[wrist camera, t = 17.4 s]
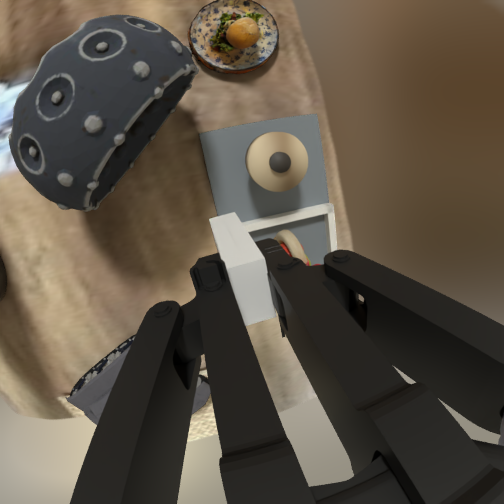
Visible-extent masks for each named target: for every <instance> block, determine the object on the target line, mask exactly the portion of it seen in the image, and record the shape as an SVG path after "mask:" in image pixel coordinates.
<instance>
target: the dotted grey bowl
mask: <svg viewBox="0 0 504 504" xmlns="http://www.w3.org/2000/svg"><path fill="white" fill-rule="evenodd" d="M198 72H199V68H198V67H197V66H196V65H195V64H194V62H193V60H192V52H191V50H190V48H188V47H187V46H183V44H182V43H181V42H180V41H179V40H178V39H177V38H176V37H175V36H174V35H172V34H171V33H170V32H169V31H167V30H166V29H164V28H163V27H161V26H160V25H158V24H156V23H153V22H151V21H148V20H146V19H143V18H139V17H134V16H129V15H110V16H104V17H99V18H95V19H91V20H89V21H87V22H84V23H82V24H81V26H80V28H79V29H78V30H77V31H76V32H75V33H73V34H72V35H71V36H69V37H68V38H66V39H65V40H63V41H62V42H60V43H58V44H56V45H55V46H53V47H52V48H51V49H50V50H49V51H48V52H47V53H46V54H45V55H44V56H43V57H42V59H41V62H40V65H39V67H38V69H37V71H36V73H35V75H34V77H33V78H32V80H31V82H30V83H29V84H28V86H27V87H26V88H25V89H24V90H23V91H22V92H21V93H19V95H18V98H17V100H16V103H15V106H14V114H13V125H12V131H11V134H10V135H9V145H10V149H11V153H12V156H13V158H14V161H15V163H16V166H17V167H18V169H19V171H20V172H21V174H22V175H23V176H24V177H25V179H26V180H27V181H28V182H29V183H30V184H31V185H32V186H33V187H34V188H35V189H36V190H37V191H38V192H39V193H40V194H41V195H43V196H44V197H46V198H47V199H49V200H50V201H52V202H54V203H56V204H57V205H58V207H59V208H61V209H62V210H68V209H76V210H83V211H85V212H86V211H90V210H96V209H98V208H99V204H100V202H101V201H102V200H103V199H104V198H105V197H106V196H107V195H108V194H109V193H112V192H113V191H114V189H115V186H116V184H117V183H118V182H119V181H120V179H121V178H122V177H123V176H124V174H125V173H126V172H127V171H128V169H130V168H133V166H134V162H135V161H136V159H137V158H138V156H139V155H140V154H141V152H142V151H143V150H144V149H145V147H146V146H147V145H148V143H149V142H150V141H152V140H153V139H154V138H155V136H156V133H157V131H158V130H159V129H160V127H161V126H162V125H163V123H164V122H165V121H166V119H167V118H168V117H169V115H170V114H171V113H173V112H174V111H175V110H176V105H177V104H178V102H179V101H180V100H181V98H182V97H183V95H184V94H185V92H186V91H187V90H189V89H190V88H191V87H192V85H191V83H192V81H193V79H194V76H195V75H196V74H198Z"/></svg>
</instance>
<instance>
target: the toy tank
mask: <svg viewBox="0 0 504 504" xmlns="http://www.w3.org/2000/svg"><path fill="white" fill-rule="evenodd" d="M135 336H136V335H133V336H132V337H130V338H129V339H127V340H126V341H125V342H123V343H122V344H121V345H119V346H118V347H117V348H116V349H114V350H113V351H112V352H111V353H109V354H108V355H107V356H106V357H104V358H103V359H102V360H101V361H99V362H98V363H97V364H96V365H95V366H94V367H92V368H91V369H90V370H89V371H88V372H87V373H86V374H84V375H83V376H82V377H81V378H80V379H79V381H78V382H77V383H76V385H75V386H74V387H73V389H72V391H71V394H70V397H68V398H66V399H67V401H68V402H70V403H71V404H73V405H74V406H76V407H77V408H79V409H80V410H82V411H84V413H85V415H86V416H87V417H88V418H89V419H90V420H91V421H92V422H93V423H95V424H96V425H97V424H98V422H99V419H100V417H101V414H102V412H103V409H104V407H105V404H106V402H107V399H108V397H109V395H110V392H111V390H112V387H113V385H114V383H115V380H116V378H117V376H118V373H119V371H120V369H121V367H122V364H123V362H124V360H125V358H126V355H127V353H128V351H129V349H130V347H131V344H132V342H133V340H134V338H135ZM210 394H211V392H210V386H209V380H208V379H207V378H205V377H204V376H202V375H201V374H200V375H199V377H198V382H197V387H196V393H195V398H194V404H193V409H192V414H193V413H195V412H196V411H197V410H199V409H200V408H201V407H202V406H204V405H205V404H206V402H207V400H208V398H209V396H210Z"/></svg>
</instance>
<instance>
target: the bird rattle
mask: <svg viewBox="0 0 504 504" xmlns="http://www.w3.org/2000/svg"><path fill="white" fill-rule="evenodd" d="M274 240H277V241H278V243H279V244H280V245H281V246H282V247H283V249H284V250H285V251H286V252H287V253H288V254H289V256H290V257H296V258H299V259H301V260H302V261H303V262H304V263H305V264H306V265H307V266H311V262H310V260H309V259H308V257H307V256H306V254H305V253H304V249H303V246H302V245H301V244H300V243H299V241H298V239H297V238H296V237H295V235H294V234H293V233H292V232H291V231H289V230H282V231H280V232H278V233H277V234H276V237H275V238H274ZM315 265H321V264H315ZM312 266H313V265H312Z"/></svg>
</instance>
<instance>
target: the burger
mask: <svg viewBox="0 0 504 504" xmlns="http://www.w3.org/2000/svg"><path fill="white" fill-rule="evenodd" d="M188 40H189V45H190V49H191V48H193V54H195V55H196V56H198V59H199V60H201V61H202V62H203V64H204V65H205V66H207V67H208V68H209V69H212V70H215V71H217V72H223V73H235V74H240V73H246V72H249V71H251V70H255V69H257V68H259V67H261V66H262V65H263V64H264V63H266V62H267V61H268V59H269V58H270V57H271V56H272V54H273V53H274V51H275V49H276V47H277V45H278V40H279V30H278V27H277V24H276V21H275V19H274V18H273V16H272V15H271V14H270V13H269V12H268V11H267V10H266V8H265V7H263V6H261V5H260V4H258V3H256V2H254V1H252V0H216V1H214V2H212V3H210V4H208V5H206V6H204V7H203V8H202V9H201V10H200V11H199V13H198V14H197V16H196V17H195V18H194V20H193V21H192V22H191V26H190V29H189V30H188Z"/></svg>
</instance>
